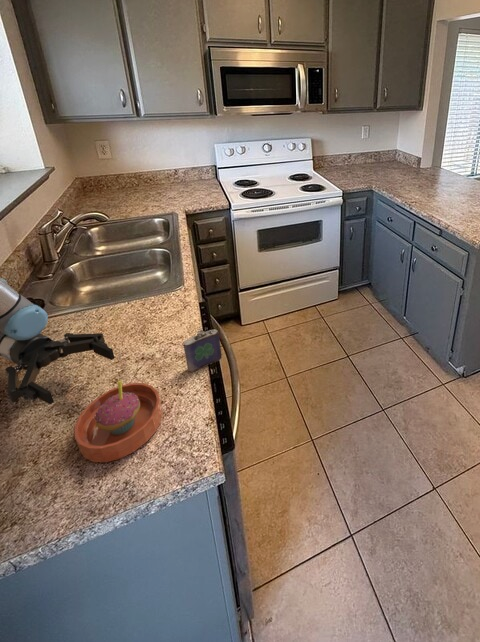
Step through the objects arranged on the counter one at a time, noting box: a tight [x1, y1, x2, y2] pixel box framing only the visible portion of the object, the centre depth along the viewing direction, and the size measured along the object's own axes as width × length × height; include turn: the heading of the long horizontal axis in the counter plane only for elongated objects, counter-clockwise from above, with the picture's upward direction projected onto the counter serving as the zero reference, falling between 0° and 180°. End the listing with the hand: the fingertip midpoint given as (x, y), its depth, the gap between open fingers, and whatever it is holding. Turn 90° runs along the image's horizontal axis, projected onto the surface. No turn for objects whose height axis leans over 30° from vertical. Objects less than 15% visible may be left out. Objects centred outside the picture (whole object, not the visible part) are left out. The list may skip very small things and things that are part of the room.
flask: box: [182, 328, 223, 373], centre depth 95 cm, size 9×3×11 cm, turn 125°
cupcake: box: [95, 376, 140, 435], centre depth 77 cm, size 9×8×12 cm
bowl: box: [74, 382, 163, 463], centre depth 78 cm, size 16×16×4 cm
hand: (83, 374), depth 79 cm, fingers open, 13 cm apart
